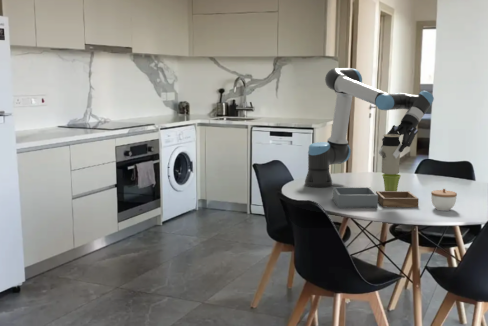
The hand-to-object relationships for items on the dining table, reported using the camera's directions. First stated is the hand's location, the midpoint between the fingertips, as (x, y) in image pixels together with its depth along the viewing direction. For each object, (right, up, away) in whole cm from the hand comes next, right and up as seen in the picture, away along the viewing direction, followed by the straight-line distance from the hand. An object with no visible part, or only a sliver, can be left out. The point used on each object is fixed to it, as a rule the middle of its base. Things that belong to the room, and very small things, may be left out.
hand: (387, 155), depth 248 cm
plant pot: (+10, -19, +32) cm, 39 cm away
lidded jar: (+23, -25, -7) cm, 35 cm away
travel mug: (+2, -9, +3) cm, 9 cm away
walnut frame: (+6, -23, +6) cm, 24 cm away
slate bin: (-14, -23, +5) cm, 27 cm away
